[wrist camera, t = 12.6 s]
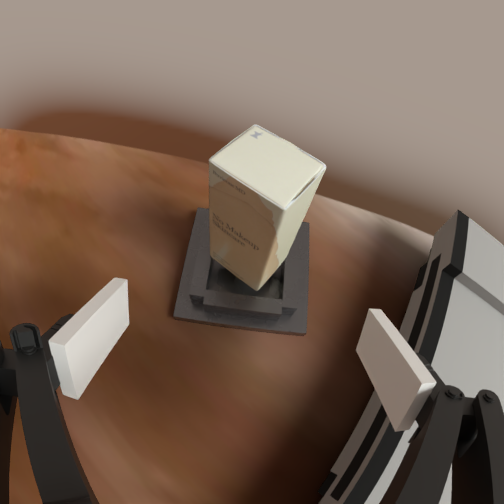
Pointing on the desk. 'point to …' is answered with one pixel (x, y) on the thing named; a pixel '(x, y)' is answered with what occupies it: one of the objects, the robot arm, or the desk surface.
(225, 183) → the box
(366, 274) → the desk surface
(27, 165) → the desk surface
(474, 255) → the game console
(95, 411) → the desk surface
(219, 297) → the collar
